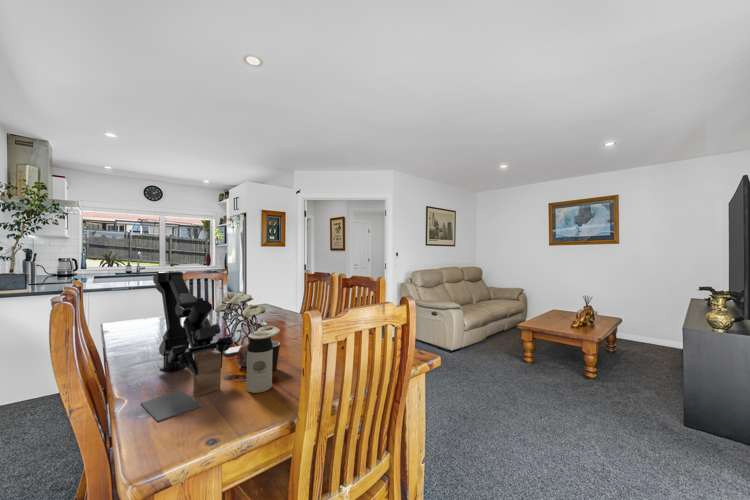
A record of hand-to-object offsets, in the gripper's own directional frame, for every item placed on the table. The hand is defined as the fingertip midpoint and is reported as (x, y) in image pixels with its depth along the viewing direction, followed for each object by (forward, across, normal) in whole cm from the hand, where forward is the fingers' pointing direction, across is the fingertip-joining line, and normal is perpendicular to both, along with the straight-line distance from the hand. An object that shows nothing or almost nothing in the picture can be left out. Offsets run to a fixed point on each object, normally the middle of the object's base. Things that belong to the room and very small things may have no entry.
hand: (209, 371), depth 101 cm
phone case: (-18, +28, +29) cm, 44 cm away
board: (+4, 0, +6) cm, 7 cm away
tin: (-6, +23, +16) cm, 29 cm away
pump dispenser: (-30, +18, +41) cm, 54 cm away
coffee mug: (+2, +22, +8) cm, 24 cm away
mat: (+5, -11, +4) cm, 13 cm away
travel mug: (+12, +12, -2) cm, 17 cm away
